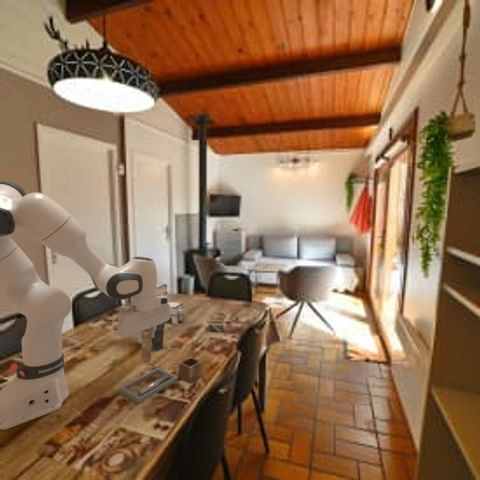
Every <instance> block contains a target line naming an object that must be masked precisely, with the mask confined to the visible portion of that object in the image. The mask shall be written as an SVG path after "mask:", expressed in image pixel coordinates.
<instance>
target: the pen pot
mask: <svg viewBox="0 0 480 480" xmlns="http://www.w3.org/2000/svg"><path fill="white" fill-rule="evenodd" d="M202 377H203V361H202V360H199V359H198V358H195V357H192V356H189V357H187V358H186V359H184V360H181V361H180V362H178V379H180V380H182V381H185V382H186V383H189V384H191V383H193V382H195V381H196V380H198V379H200V378H202Z"/></svg>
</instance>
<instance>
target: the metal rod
mask: <svg viewBox="0 0 480 480" xmlns="http://www.w3.org/2000/svg"><path fill="white" fill-rule="evenodd" d="M168 380H170V377H169V375H167V374H166V375H165V376H164V375H162V376H161V377H159V378H157V379H156V380H154V381H152V382H151V383H148V384H147V385H144V386H143V387H141V388H139V389H138V390H137V395H138V396H139V397H140V396H142V395H144V394H145V393H147V392H149V391H151V390H152V389H154V388H156V387H158V386H159V385H161V384H163V383H165V382H166V381H168Z"/></svg>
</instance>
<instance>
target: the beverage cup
mask: <svg viewBox="0 0 480 480" xmlns="http://www.w3.org/2000/svg"><path fill="white" fill-rule="evenodd" d="M165 325H166V322H164V323H161V324H158V325H157V328H156V330H155V333H154V338H152V339H150V341H151V348H152V349H151V350H152V351H160V350H162V349H163V345H164V344H163V343H164V333H165V330H164V329H165ZM148 329H151V328H148Z"/></svg>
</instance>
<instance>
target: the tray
mask: <svg viewBox="0 0 480 480" xmlns="http://www.w3.org/2000/svg"><path fill="white" fill-rule="evenodd" d="M156 374H159V375H162V376H165V375H166V374H167V375H169V377H170V380H168V381H166V382H165V383H163V384H161V385H159V386H158V387H156V388H154V389H152V390H151V391H149V392H147V393H145V394H144V395H142V396H139V395H138V394H135V393H134V392H132V391H131V390H129V389H130V388H132V387H134V386H135V385H138V384H140V383H141V382H143V381H145V380H147V379H149V378H151V377H153V376H154V375H156ZM178 380H179V376H178V375H175V374H173V373H171V372H169V371H166V370H164V369H163V368H160V367H156V368H154V369H153V370H150V371H148V372H147V373H145V374H143V375H141V376H139V377H137V378H135V379H133V380H131V381H129V382H128V383H125V384H124V385H122V386H120V387H119V388H118V390H119V391H118V392H119V393H120V394H122V395H124V396H125V397H126V398H128V399H130V400H132V401H133V402H135V403H137V404H138V405H139V404H142V403H144V401H145V400H147V399H149V398H150V397H152V396H154V395H156V394H157V393H159V392H160V391H162V390H164V389H166V388H167V387H169V386H171V385H172V384H174V383H176V382H177V381H178Z"/></svg>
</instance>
